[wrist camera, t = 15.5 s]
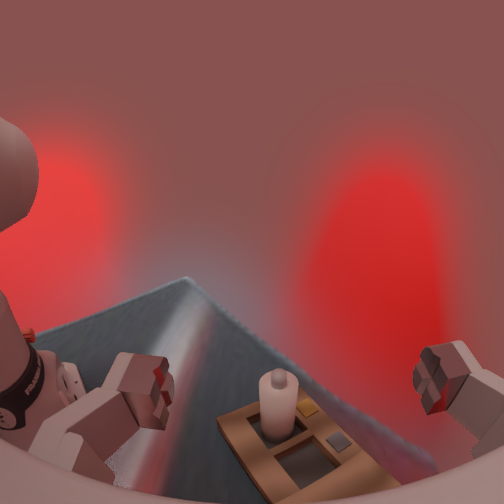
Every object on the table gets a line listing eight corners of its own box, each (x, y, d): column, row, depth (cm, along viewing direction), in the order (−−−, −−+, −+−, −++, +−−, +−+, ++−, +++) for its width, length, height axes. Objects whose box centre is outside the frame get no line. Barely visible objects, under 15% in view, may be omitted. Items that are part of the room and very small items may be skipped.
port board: (218, 427, 34) (215, 416, 32) (295, 394, 39) (296, 381, 38) (309, 554, 17) (313, 551, 15) (395, 493, 22) (404, 485, 21)
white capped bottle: (261, 445, 31) (258, 390, 26) (260, 420, 34) (258, 361, 29) (294, 443, 30) (301, 387, 26) (292, 418, 34) (297, 359, 29)
